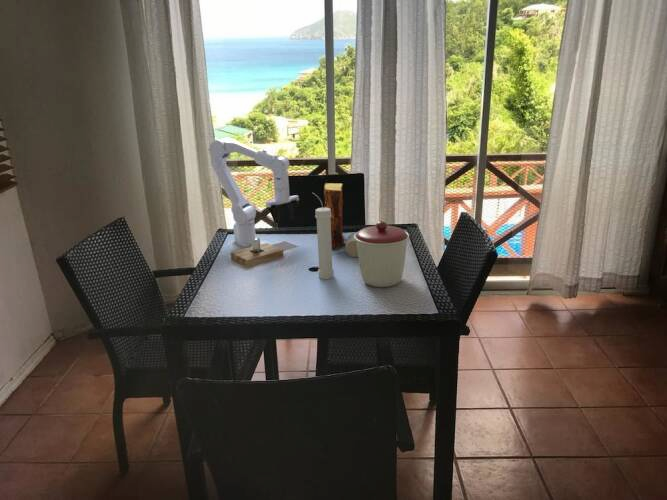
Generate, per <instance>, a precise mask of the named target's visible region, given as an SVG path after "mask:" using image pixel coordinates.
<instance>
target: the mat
mask: <svg viewBox="0 0 667 500" xmlns="http://www.w3.org/2000/svg"><path fill="white" fill-rule="evenodd" d="M271 245H272V246H275V247H277V248H280V249H282V250H283V252H285V251H288V250H289V251H290V250H292V249H295V248H299V247H300V246H298V245H296V244H294V243H291V242H288V241H286V240H284V241H280V242H277V243H273V244H271Z"/></svg>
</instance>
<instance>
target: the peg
mask: <svg viewBox="0 0 667 500" xmlns="http://www.w3.org/2000/svg"><path fill="white" fill-rule="evenodd" d="M260 244H261V238H260V237H256V238H252V245H251V247H253V253H254V254H256V253H260V252H261V247H260Z"/></svg>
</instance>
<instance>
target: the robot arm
mask: <svg viewBox="0 0 667 500" xmlns="http://www.w3.org/2000/svg"><path fill="white" fill-rule="evenodd" d="M207 150H208V153H209V154H210V164H211V167H212V168H213V170H214V172H215V174H216V176H217V178H218V180H219V182H220V184H221V185H222V187H223V189H224V191H225V193H226V195H227V196H228V199H229V201H230V202H231V208H230V209H231V210H230V211H231V213H232V216H233V221H234V222H235V223H234V224H233V227H232V228H233V237H234V240H232V242H233V243H235V244H237V245H239V246H242V247H243V248H245V247H250V246H252V238H257V237H256V226H255V217H256V215H257V209H256V208H255V206H254V205H252V203H251V202H250V200H248V199H246V198H245V197H244V195H243V193H242V191H241V189H240V187H239V185H238V184H237V182H236V180H235V177H234V176H233V174H232V172H231V170H230V168H229V167H228V165H227V161H228V158H229V156H230V155H231V154H232V153H236V154H237V153H238V154H240V155H243V156H245V157H248V158H251V159H254V162H255V163H256V164H258V165H260V166H262V167H265V168H267V169H270V171H271V172H272V173H273V186H274V187H273V189H274V198H273V199H271V200H267V201H265V207H266V209H267V210H268V211H269V213H270V215H271V217H272V220H273V223H274V224H276V225H277V224H279V210H280V208H279V207H278V205H279V206H280V205H282V204H287V208H288V217H289V219H290V220H292V221H294V219H295V215H296V212H297V208H298V207H299V205H300V203H299V201H300V198H299V195H297V194H296V195H290V183H289V181H290V180H289V168H290V164H291V163H290V160H289V159H288V158H287V157H285V156H284V155H280V156H279V155H278V154H276V153H275V154H274V153H271V152H270V151H268V149H265V148H264V149H259V150H257V149H254V148H252V147H250V146H249V145H246V144H243V143H242V142H240V141H238V140H236V139H235V138H230V137H228V136H225V137H222V138H220V139H219V138H218V139H215V140H212V141H211V142H210V145H209V147H208V149H207Z"/></svg>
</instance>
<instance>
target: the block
mask: <svg viewBox="0 0 667 500" xmlns="http://www.w3.org/2000/svg"><path fill="white" fill-rule="evenodd" d="M260 247H261V252H260V253H256V254H254V253H253V247H252V246H248V247H246V248H245V247H244V248H242V249H238V250H234V251H231V252H230V258H231V261H234V262H235V263H237V264H238V265H242V266H243V267H245V268H247V269H248V268H252V267H253V266H256V265H259V264H261V263H265V262H269V261H272V260H276V259H279V258H283V257H284V251H283V250H282V249H280V248H277V247H275V246H272V244H270V243H267V242H263V243H260Z"/></svg>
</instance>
